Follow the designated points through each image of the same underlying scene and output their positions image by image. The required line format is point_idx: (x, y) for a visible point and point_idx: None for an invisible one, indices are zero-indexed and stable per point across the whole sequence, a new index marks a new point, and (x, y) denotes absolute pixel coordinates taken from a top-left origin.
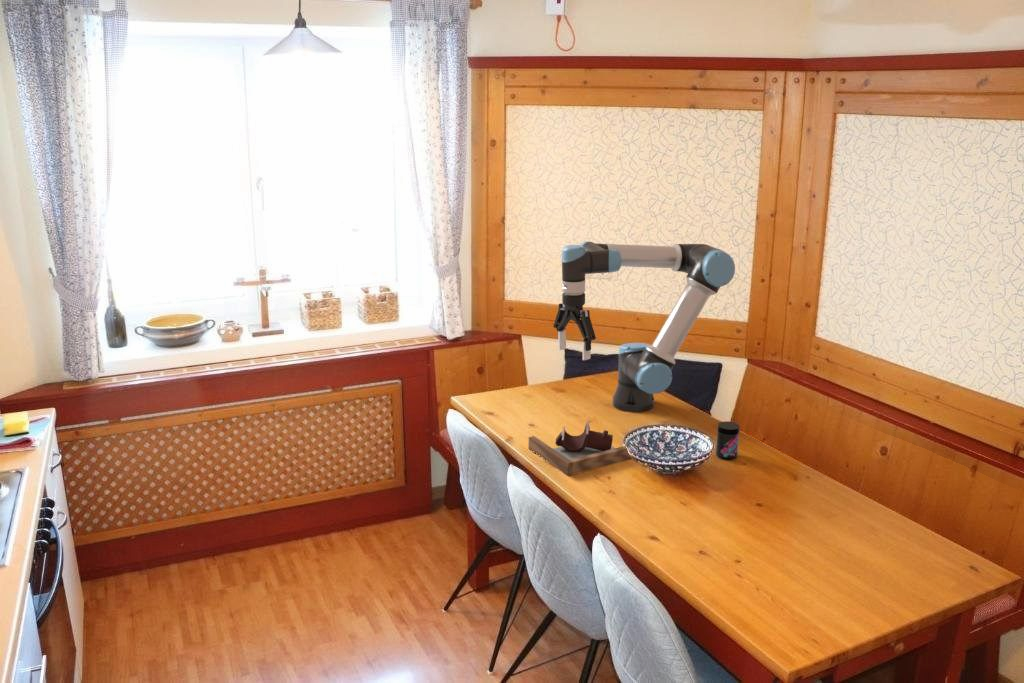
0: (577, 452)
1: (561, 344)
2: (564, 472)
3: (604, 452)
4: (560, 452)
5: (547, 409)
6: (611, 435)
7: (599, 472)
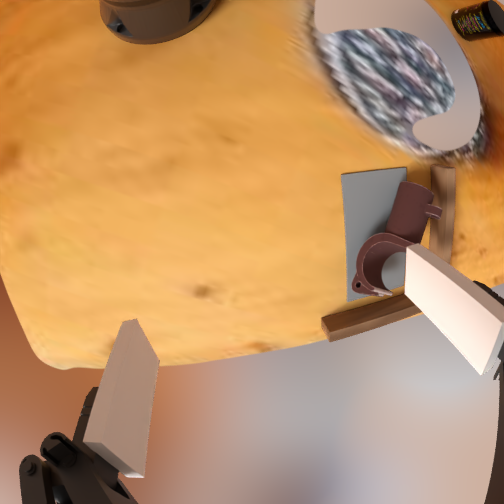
0: None
1: (147, 378)
2: None
3: (449, 230)
4: None
5: (111, 224)
6: (429, 192)
7: None
